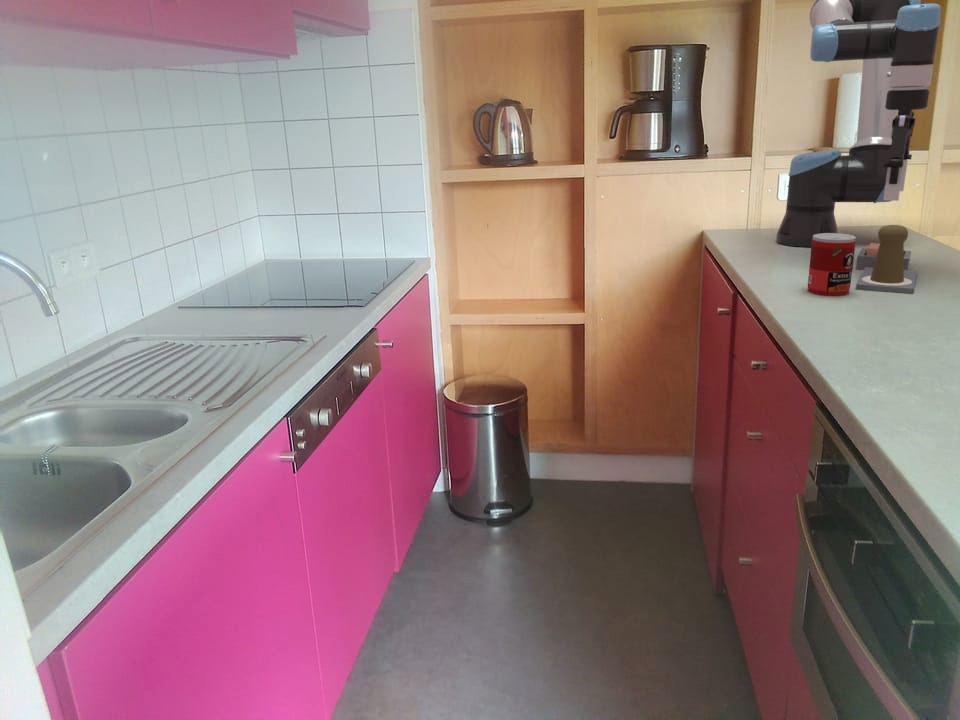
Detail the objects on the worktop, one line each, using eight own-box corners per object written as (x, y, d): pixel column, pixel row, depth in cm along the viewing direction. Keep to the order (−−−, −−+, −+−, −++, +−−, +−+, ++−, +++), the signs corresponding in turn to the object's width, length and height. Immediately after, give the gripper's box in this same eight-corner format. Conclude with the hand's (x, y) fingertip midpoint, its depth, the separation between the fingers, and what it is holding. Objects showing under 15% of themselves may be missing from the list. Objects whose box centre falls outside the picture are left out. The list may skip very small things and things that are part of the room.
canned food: (831, 298, 147) (838, 241, 143) (798, 290, 153) (803, 235, 150) (858, 292, 150) (865, 236, 147) (824, 285, 157) (830, 231, 153)
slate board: (865, 271, 167) (865, 266, 167) (917, 275, 162) (917, 270, 162) (855, 289, 152) (856, 283, 152) (912, 293, 148) (913, 288, 147)
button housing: (860, 260, 178) (862, 248, 177) (909, 263, 173) (911, 250, 172) (855, 269, 170) (857, 255, 169) (907, 272, 165) (908, 258, 164)
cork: (907, 283, 151) (916, 227, 147) (874, 283, 152) (882, 228, 148) (898, 277, 156) (906, 223, 153) (866, 276, 158) (873, 223, 154)
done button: (868, 256, 175) (870, 243, 174) (902, 258, 172) (903, 244, 171) (865, 261, 170) (867, 248, 169) (900, 263, 166) (901, 250, 165)
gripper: (892, 87, 165) (879, 186, 173) (881, 91, 145) (867, 203, 153) (932, 86, 162) (917, 187, 169) (926, 90, 142) (910, 205, 149)
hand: (893, 195), depth 161 cm, fingers open, 13 cm apart
